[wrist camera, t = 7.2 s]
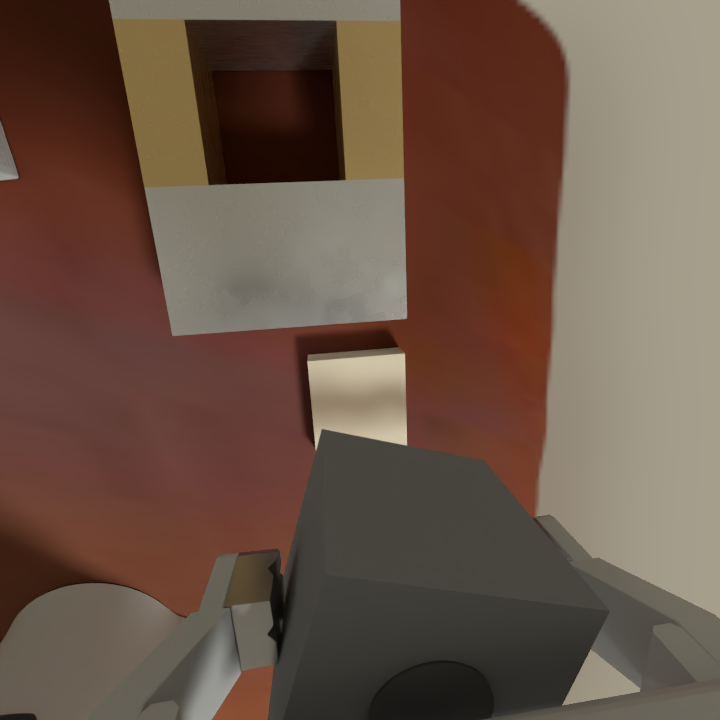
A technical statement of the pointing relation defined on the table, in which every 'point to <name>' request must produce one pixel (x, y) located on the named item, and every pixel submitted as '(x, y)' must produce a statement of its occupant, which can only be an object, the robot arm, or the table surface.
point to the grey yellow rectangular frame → (268, 200)
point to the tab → (359, 393)
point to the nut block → (423, 593)
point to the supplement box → (6, 159)
